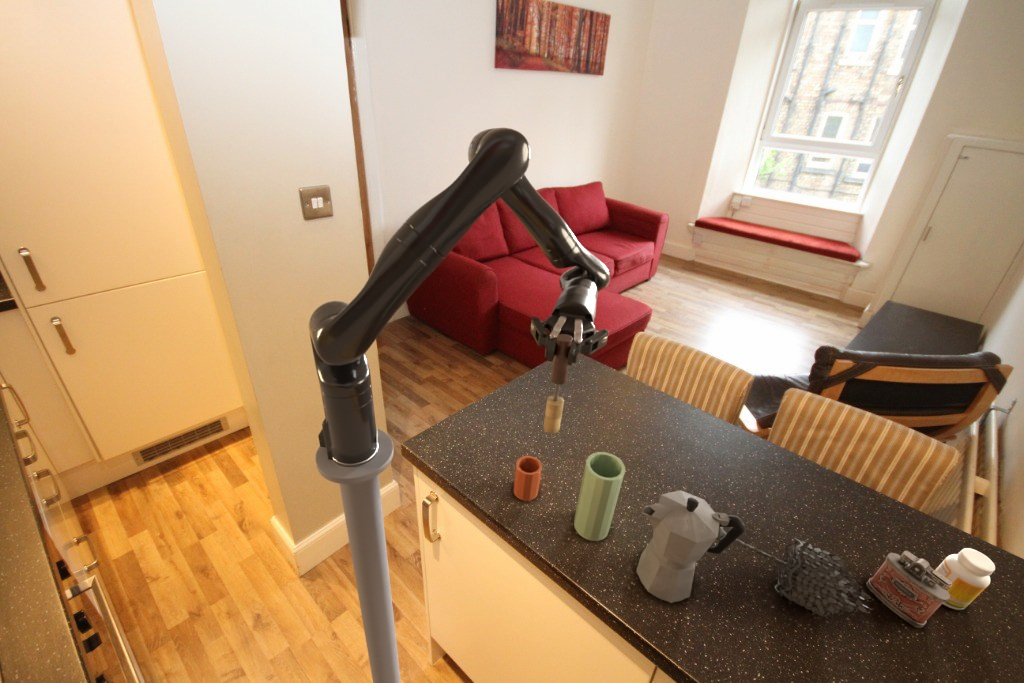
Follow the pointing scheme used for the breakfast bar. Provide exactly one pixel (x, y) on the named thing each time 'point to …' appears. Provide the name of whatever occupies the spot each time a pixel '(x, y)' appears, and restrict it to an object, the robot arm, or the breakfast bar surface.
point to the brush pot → (527, 478)
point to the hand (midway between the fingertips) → (560, 358)
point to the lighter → (910, 587)
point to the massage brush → (813, 578)
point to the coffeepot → (681, 542)
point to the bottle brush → (557, 384)
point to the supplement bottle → (966, 576)
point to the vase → (598, 495)
